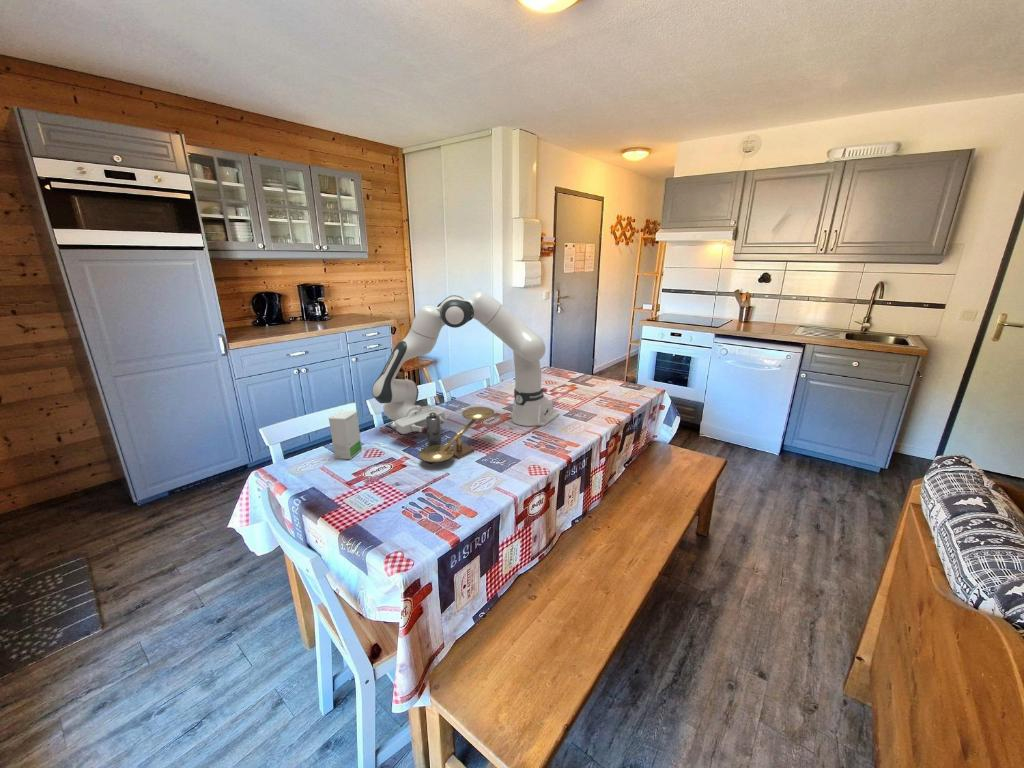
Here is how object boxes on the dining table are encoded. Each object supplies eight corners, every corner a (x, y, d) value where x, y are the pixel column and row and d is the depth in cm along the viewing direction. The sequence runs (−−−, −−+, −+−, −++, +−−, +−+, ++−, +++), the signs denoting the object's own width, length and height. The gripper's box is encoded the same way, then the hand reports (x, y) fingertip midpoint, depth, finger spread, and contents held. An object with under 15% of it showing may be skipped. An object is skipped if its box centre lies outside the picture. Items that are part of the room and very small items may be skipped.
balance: (480, 433, 165) (479, 404, 161) (501, 442, 157) (500, 411, 153) (412, 462, 142) (409, 429, 138) (434, 474, 134) (431, 439, 131)
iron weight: (436, 440, 159) (434, 410, 156) (444, 444, 156) (442, 413, 152) (425, 444, 156) (423, 413, 152) (433, 448, 153) (431, 417, 149)
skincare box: (350, 460, 144) (344, 419, 139) (333, 458, 145) (327, 418, 141) (362, 449, 152) (357, 410, 147) (346, 448, 153) (341, 409, 149)
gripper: (387, 416, 155) (408, 426, 146) (431, 402, 169) (452, 410, 160) (389, 432, 157) (410, 442, 148) (432, 416, 171) (453, 425, 162)
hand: (432, 425), depth 154 cm, fingers open, 8 cm apart
